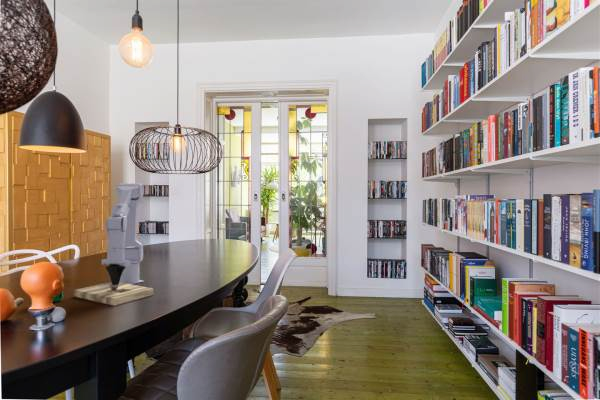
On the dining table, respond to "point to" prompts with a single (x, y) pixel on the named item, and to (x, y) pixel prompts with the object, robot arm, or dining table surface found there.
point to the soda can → (58, 297)
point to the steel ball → (113, 286)
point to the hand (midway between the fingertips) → (115, 284)
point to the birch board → (113, 293)
